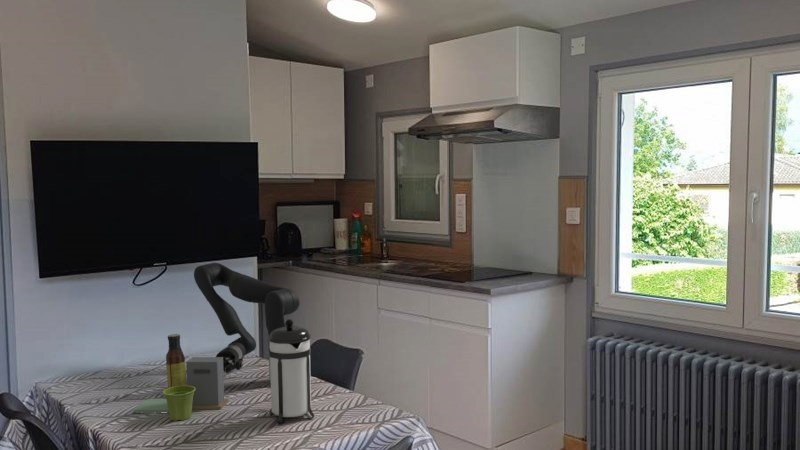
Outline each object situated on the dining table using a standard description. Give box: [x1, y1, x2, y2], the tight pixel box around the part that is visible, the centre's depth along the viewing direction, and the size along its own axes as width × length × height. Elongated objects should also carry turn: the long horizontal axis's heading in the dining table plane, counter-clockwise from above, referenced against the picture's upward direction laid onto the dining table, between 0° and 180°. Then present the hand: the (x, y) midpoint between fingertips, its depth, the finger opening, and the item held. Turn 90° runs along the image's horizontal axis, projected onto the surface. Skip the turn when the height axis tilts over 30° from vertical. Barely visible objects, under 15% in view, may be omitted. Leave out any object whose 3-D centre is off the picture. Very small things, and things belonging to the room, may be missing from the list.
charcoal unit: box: [185, 356, 229, 411], centre depth 217 cm, size 12×8×15 cm, turn 87°
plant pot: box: [162, 385, 196, 422], centre depth 206 cm, size 9×9×9 cm
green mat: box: [133, 398, 169, 414], centre depth 216 cm, size 11×11×1 cm
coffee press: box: [267, 319, 315, 425], centre depth 206 cm, size 17×16×30 cm
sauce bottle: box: [165, 333, 187, 389], centre depth 232 cm, size 6×6×20 cm
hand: (214, 370), depth 226 cm, fingers open, 8 cm apart
